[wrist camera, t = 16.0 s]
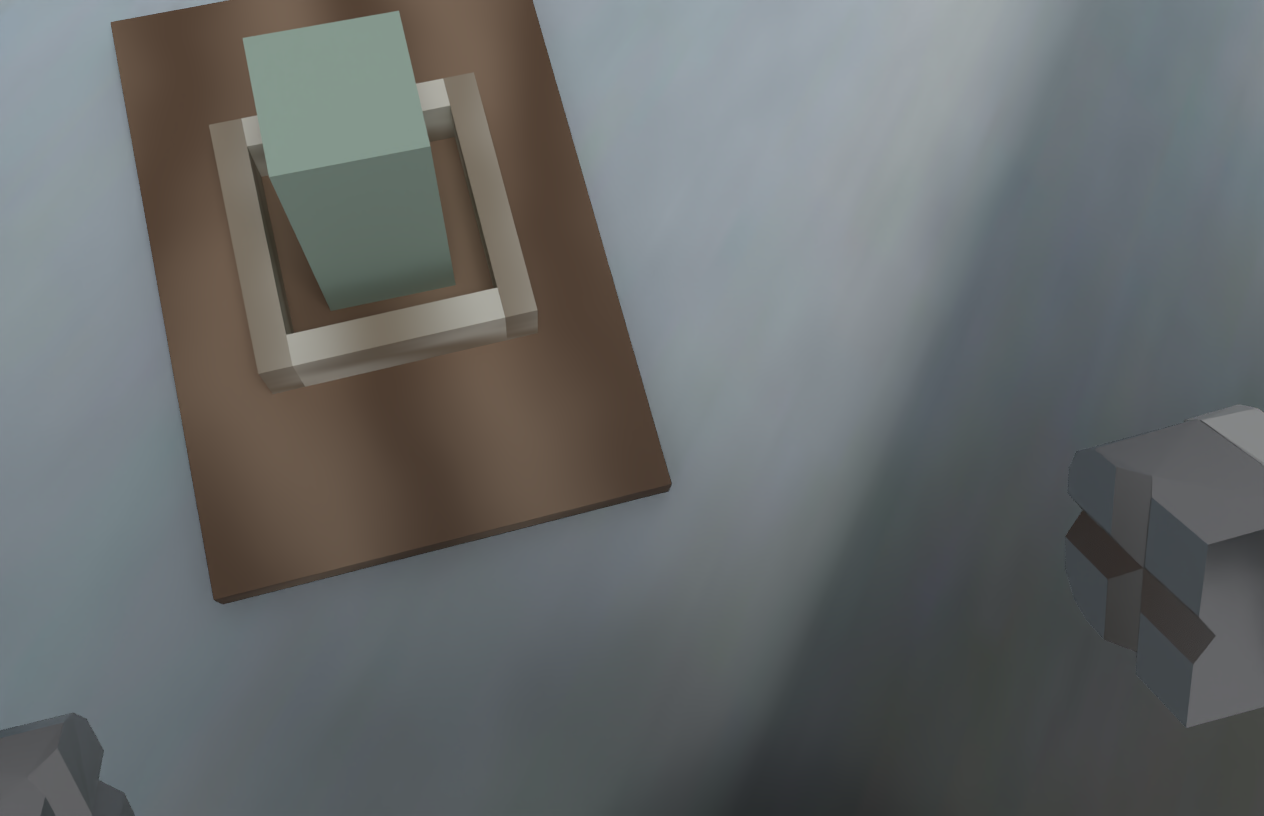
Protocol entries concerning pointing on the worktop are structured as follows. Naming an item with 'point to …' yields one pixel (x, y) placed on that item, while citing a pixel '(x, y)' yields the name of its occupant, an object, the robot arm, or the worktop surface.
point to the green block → (351, 157)
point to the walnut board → (382, 308)
